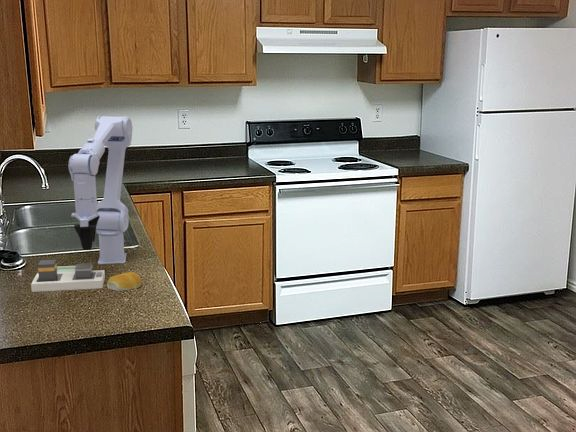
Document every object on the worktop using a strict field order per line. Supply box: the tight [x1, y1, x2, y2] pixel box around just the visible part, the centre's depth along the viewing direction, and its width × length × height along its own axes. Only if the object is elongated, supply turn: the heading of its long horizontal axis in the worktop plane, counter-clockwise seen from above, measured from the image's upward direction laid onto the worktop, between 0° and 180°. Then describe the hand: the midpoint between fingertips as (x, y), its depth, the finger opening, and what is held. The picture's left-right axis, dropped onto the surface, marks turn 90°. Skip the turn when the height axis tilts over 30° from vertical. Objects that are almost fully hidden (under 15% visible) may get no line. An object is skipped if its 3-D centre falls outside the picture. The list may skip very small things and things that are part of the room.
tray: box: [57, 265, 76, 272], centre depth 188 cm, size 9×9×1 cm
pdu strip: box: [30, 262, 106, 293], centre depth 179 cm, size 9×18×6 cm, turn 101°
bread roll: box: [106, 271, 143, 292], centre depth 179 cm, size 8×9×4 cm
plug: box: [37, 259, 58, 282], centre depth 178 cm, size 4×4×7 cm
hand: (88, 245), depth 182 cm, fingers open, 7 cm apart
